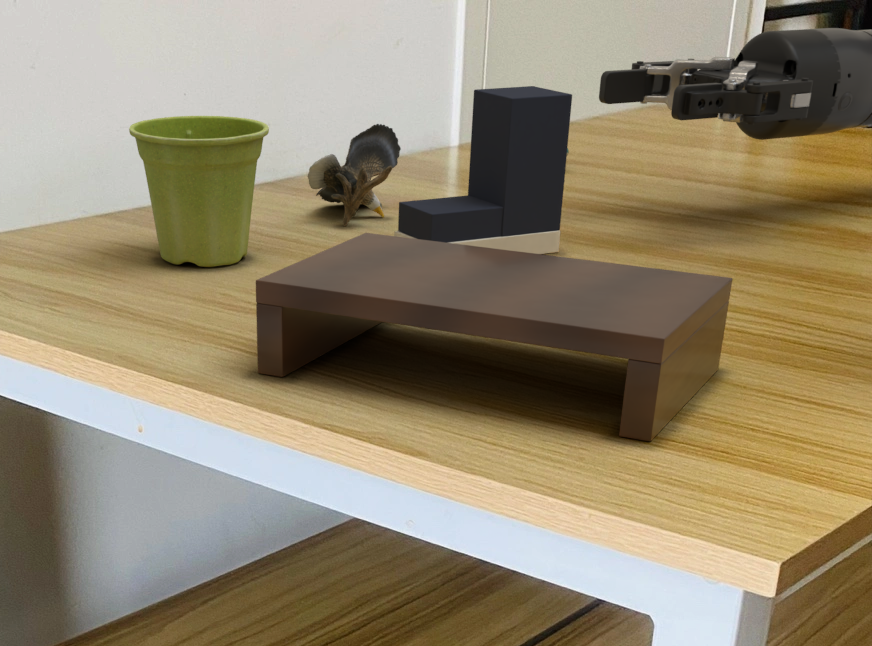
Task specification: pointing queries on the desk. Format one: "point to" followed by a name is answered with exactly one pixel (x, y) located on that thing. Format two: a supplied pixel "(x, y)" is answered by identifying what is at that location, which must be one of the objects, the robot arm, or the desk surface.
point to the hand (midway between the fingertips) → (638, 95)
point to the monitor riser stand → (504, 311)
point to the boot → (504, 176)
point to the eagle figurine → (357, 171)
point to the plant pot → (201, 184)
